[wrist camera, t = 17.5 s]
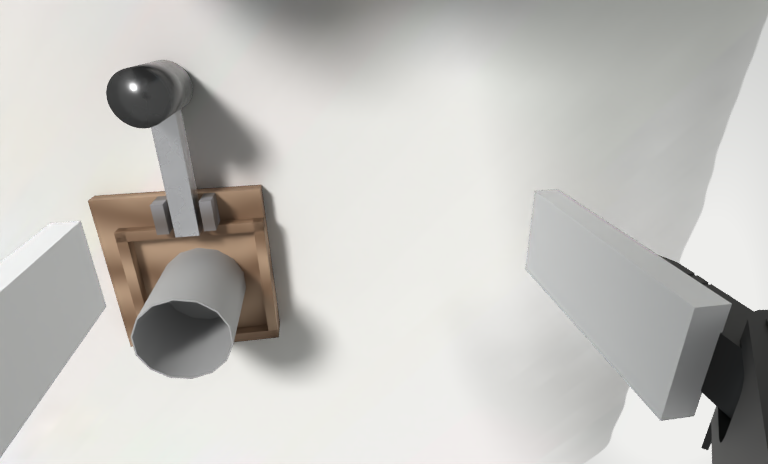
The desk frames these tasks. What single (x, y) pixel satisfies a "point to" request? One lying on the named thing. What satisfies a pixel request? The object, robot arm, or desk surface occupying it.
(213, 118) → the desk surface
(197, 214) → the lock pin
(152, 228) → the dock
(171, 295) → the cup
